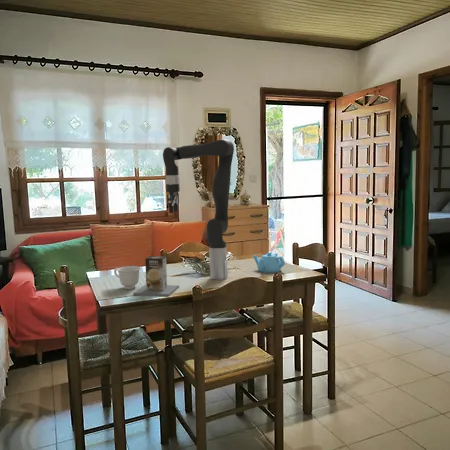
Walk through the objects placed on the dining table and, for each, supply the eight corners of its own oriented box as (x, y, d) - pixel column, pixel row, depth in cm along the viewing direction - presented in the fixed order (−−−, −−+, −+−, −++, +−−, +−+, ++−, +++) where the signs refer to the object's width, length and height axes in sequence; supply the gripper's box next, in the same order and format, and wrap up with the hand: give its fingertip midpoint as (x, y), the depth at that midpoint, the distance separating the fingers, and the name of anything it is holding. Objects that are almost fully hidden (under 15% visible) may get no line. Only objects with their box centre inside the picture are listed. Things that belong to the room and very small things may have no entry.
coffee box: (145, 290, 210) (144, 258, 208) (150, 287, 216) (148, 255, 214) (163, 291, 208) (162, 258, 207) (167, 287, 215) (166, 256, 213)
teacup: (122, 283, 229) (121, 265, 228) (146, 285, 224) (145, 266, 223) (108, 289, 218) (107, 270, 217) (133, 291, 213) (132, 271, 211)
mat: (179, 287, 218) (178, 285, 218) (169, 296, 203) (168, 294, 203) (145, 286, 222) (145, 284, 222) (133, 295, 206) (133, 293, 206)
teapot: (260, 274, 242) (260, 255, 241) (252, 268, 257) (252, 251, 256) (286, 272, 246) (286, 254, 245) (277, 267, 260) (276, 249, 259)
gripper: (170, 183, 248) (171, 211, 250) (161, 183, 234) (163, 213, 236) (182, 183, 246) (183, 211, 248) (175, 183, 232) (176, 213, 234)
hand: (173, 212), depth 242 cm, fingers open, 8 cm apart
